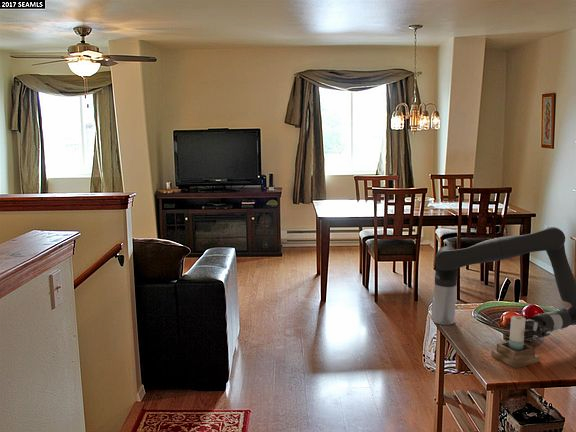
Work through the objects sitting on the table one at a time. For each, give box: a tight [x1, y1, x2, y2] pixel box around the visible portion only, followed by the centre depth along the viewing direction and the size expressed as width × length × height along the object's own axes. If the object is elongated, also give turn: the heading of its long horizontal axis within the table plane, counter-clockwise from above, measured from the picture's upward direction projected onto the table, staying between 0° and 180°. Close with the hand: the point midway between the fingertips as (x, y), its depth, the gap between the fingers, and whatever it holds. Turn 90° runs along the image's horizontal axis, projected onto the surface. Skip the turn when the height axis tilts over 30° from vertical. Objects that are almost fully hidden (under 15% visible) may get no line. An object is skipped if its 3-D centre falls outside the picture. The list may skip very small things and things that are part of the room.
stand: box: [490, 340, 541, 369], centre depth 218 cm, size 12×12×5 cm
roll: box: [508, 315, 527, 352], centre depth 217 cm, size 5×5×14 cm
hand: (515, 330), depth 216 cm, fingers open, 8 cm apart
